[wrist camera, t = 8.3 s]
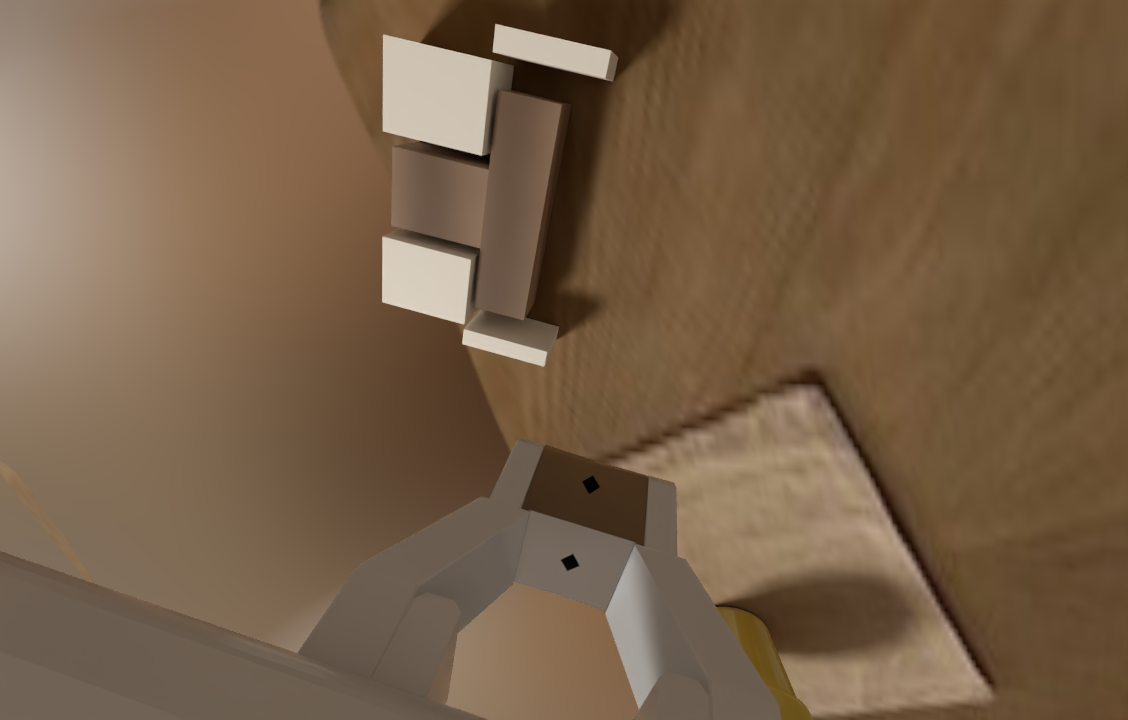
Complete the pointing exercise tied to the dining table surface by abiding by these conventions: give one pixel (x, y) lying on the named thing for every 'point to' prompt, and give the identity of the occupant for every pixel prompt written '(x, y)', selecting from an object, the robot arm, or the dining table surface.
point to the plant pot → (765, 660)
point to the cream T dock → (465, 122)
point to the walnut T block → (490, 197)
